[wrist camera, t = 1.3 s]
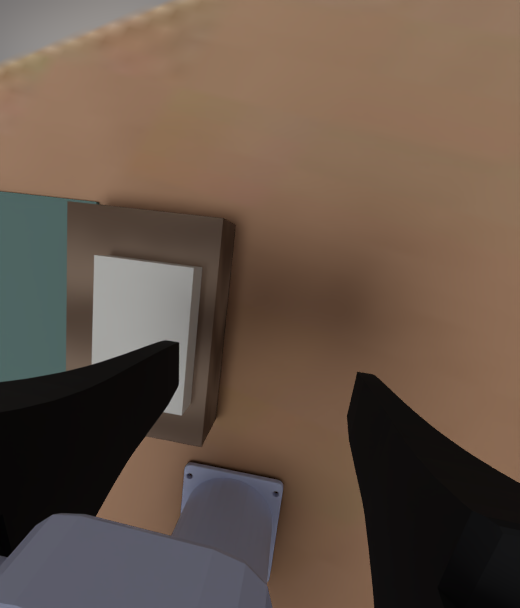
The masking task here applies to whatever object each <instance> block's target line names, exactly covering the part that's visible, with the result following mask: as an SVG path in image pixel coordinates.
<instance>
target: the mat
mask: <svg viewBox="0 0 520 608" xmlns="http://www.w3.org/2000/svg"><path fill="white" fill-rule="evenodd" d="M67 201H71V202H80V203H89V204H98V205H99V203H98V202H92V201H82V200H73V199H64V198H55V197H46V196H37V195H28V194H18V193H9V192H0V382H4V381H13V380H20V379H27V378H33V377H38V376H44V375H49V374H55V373H60V372H65V371H66V307H67Z"/></svg>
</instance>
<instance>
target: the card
mask: <svg viewBox="0 0 520 608" xmlns="http://www.w3.org/2000/svg"><path fill="white" fill-rule="evenodd" d="M201 278H202V267H197V266H189V265H181V264H174V263H166V262H158V261H150V260H143V259H135V258H127V257H120V256H112V255H94V285H93V327H92V364H96V363H99V362H102V361H105V360H108V359H111V358H114V357H117V356H120V355H123V354H126V353H129V352H131V351H134V350H137V349H140V348H142V347H145V346H148V345H151V344H154V343H157V342H160V341H164V340H168V341H174V342H179V386H178V388H177V390H176V392H175V394H174V396H173V397H172V399H171V401H170V403H169V405H168V406H167V407H166V409H165V410H164V412H165V413H171V414H176V415H181V416H182V415H183V413H184V412H185V410H186V409H187V408H188V406H189V405H190V404H191V393H192V382H193V370H194V359H195V347H196V336H197V324H198V312H199V301H200V289H201Z"/></svg>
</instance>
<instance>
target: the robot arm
mask: <svg viewBox="0 0 520 608" xmlns="http://www.w3.org/2000/svg"><path fill="white" fill-rule="evenodd" d="M178 386H179V342H174V341H168V340H164V341H160V342H157V343H154V344H151V345H148V346H145V347H142V348H140V349H137V350H134V351H131V352H129V353H126V354H123V355H120V356H117V357H114V358H111V359H108V360H105V361H102V362H99V363H96V364H92V365H89V366H85V367H81V368H77V369H73V370H69V371H65V372H60V373H55V374H49V375H44V376H38V377H33V378H27V379H20V380H13V381H4V382H0V608H272V604H271V600H270V595H269V591H268V586H267V582H268V581H269V578H270V571H271V565H272V558H273V552H274V545H275V539H276V532H277V525H278V519H279V512H280V506H281V499H282V493H283V483H282V482H281V481H280V480H277V479H272V478H267V477H262V476H257V475H252V474H247V473H242V472H237V471H233V470H228V469H223V468H218V467H213V466H208V465H203V464H198V463H193V462H189V463H188V464H187V465H186V466H185V469H184V481H183V492H182V504H181V515H180V518H179V520H178V522H177V524H176V526H175V529H174V531H173V533H172V535H171V536H170V535H166V534H162V533H158V532H154V531H150V530H146V529H142V528H138V527H134V526H130V525H126V524H122V523H118V522H114V521H110V520H106V519H102V518H98V517H96V515H97V513H98V511H99V509H100V508H101V506H102V504H103V502H104V501H105V499H106V497H107V495H108V493H109V492H110V490H111V488H112V486H113V485H114V483H115V481H116V480H117V478H118V476H119V475H120V473H121V471H122V470H123V468H124V466H125V465H126V463H127V461H128V460H129V458H130V457H131V455H132V454H133V452H134V451H135V450H136V448H137V447H138V445H139V444H140V443H141V441H142V440H143V439H144V437H145V436H146V435H147V433H148V432H149V431H150V429H151V428H152V427H153V425H154V424H155V423H156V421H157V420H158V419H159V417H160V416H161V414H162V413H163V412H164V410H165V409H166V407H167V406H168V405H169V403H170V401H171V399H172V397H173V396H174V394H175V392H176V390H177V388H178ZM347 421H348V434H349V442H350V447H351V452H352V456H353V461H354V466H355V470H356V475H357V479H358V484H359V488H360V493H361V497H362V502H363V508H364V513H365V521H366V530H367V538H368V546H369V556H370V566H371V575H372V585H373V596H374V608H520V483H518V482H517V481H515V480H513V479H511V478H510V477H508V476H506V475H504V474H503V473H501V472H499V471H497V470H496V469H494V468H492V467H491V466H489V465H488V464H486V463H484V462H483V461H481V460H479V459H478V458H476V457H475V456H473V455H472V454H470V453H468V452H467V451H465V450H464V449H462V448H461V447H460V446H458V445H457V444H455V443H454V442H453V441H451V440H450V439H448V438H447V437H446V436H444V435H443V434H441V433H440V432H439V431H437V430H436V429H435V428H434V427H432V426H431V425H430V424H429V423H427V422H426V421H425V420H424V419H423V418H421V417H420V416H419V415H418V414H417V413H415V412H414V411H413V410H412V409H411V408H410V407H409V406H407V405H406V404H405V403H404V402H403V401H402V400H401V399H400V398H399V397H398V396H397V395H396V394H395V393H393V392H392V391H391V390H390V389H389V388H388V387H387V386H386V385H385V384H384V383H383V382H382V381H381V380H380V379H379V378H377V377H376V376H375V375H373V374H367V373H361V372H357V376H356V380H355V384H354V389H353V393H352V397H351V402H350V406H349V410H348V414H347ZM189 473H190V474H192V475H193V476H191V475H189ZM274 491H277V492H278V493H274Z"/></svg>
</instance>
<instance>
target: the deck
mask: <svg viewBox="0 0 520 608" xmlns="http://www.w3.org/2000/svg"><path fill="white" fill-rule="evenodd" d="M235 226H236V225H234V224H233V223H231V222H229V221H227V220H225V219H224V218H216V217H207V216H198V215H189V214H180V213H171V212H162V211H153V210H144V209H135V208H125V207H116V206H107V205H98V204H89V203H80V202H71V201H67V307H66V371H69V370H73V369H77V368H81V367H85V366H89V365H92V327H93V285H94V255H112V256H120V257H127V258H135V259H143V260H150V261H158V262H166V263H174V264H181V265H189V266H197V267H202V278H201V289H200V301H199V312H198V324H197V336H196V347H195V359H194V370H193V382H192V393H191V404H190V405H189V406H188V408H187V409H186V410H185V412H184V413H183V415H182V416H181V415H176V414H171V413H165V412H163V413H162V414H161V416H160V417H159V419H158V420H157V421H156V423H155V424H154V425H153V427H152V428H151V429H150V431H149V432H148V433H147V435H146V436H147V437H152V438H157V439H162V440H168V441H173V442H178V443H183V444H188V445H193V446H198V447H202V445H203V443H204V441H205V439H206V437H207V435H208V433H209V431H210V429H211V427H212V425H213V423H214V421H215V419H216V411H217V401H218V391H219V381H220V372H221V362H222V352H223V343H224V333H225V323H226V314H227V304H228V294H229V284H230V275H231V265H232V255H233V246H234V236H235Z"/></svg>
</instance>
